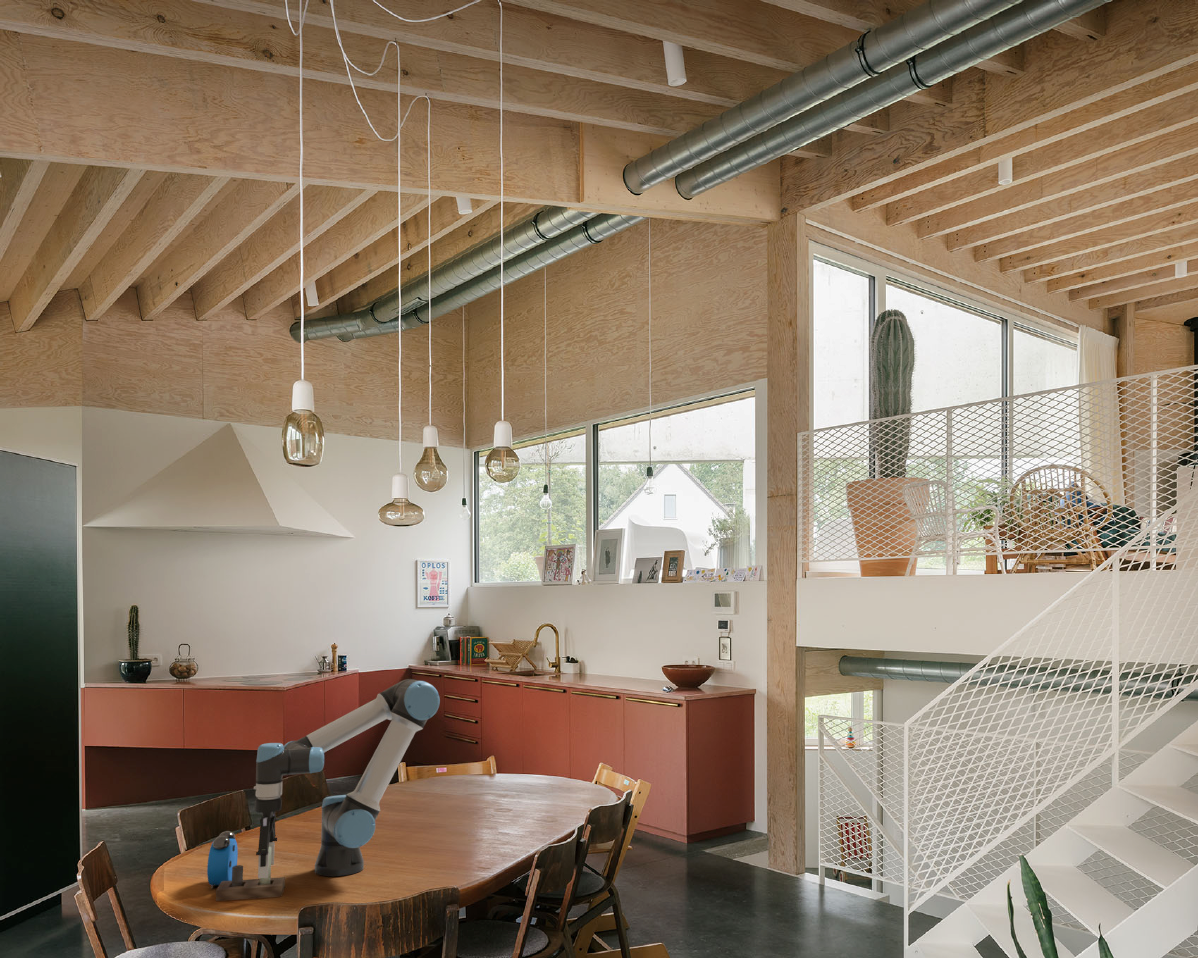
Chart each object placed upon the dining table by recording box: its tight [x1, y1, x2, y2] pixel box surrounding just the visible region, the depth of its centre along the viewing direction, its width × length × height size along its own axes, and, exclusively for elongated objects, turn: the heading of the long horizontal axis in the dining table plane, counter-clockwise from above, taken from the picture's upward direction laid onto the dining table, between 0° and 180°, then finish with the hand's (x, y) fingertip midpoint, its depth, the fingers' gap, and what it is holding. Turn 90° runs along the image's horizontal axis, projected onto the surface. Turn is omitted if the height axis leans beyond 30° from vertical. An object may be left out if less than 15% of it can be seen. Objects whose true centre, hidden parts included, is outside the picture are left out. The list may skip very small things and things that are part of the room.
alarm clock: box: [206, 830, 239, 889], centre depth 291 cm, size 13×6×15 cm, turn 8°
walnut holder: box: [215, 864, 286, 902], centre depth 281 cm, size 18×9×8 cm, turn 102°
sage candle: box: [259, 846, 272, 885], centre depth 282 cm, size 3×3×13 cm
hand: (266, 871), depth 282 cm, fingers open, 13 cm apart
